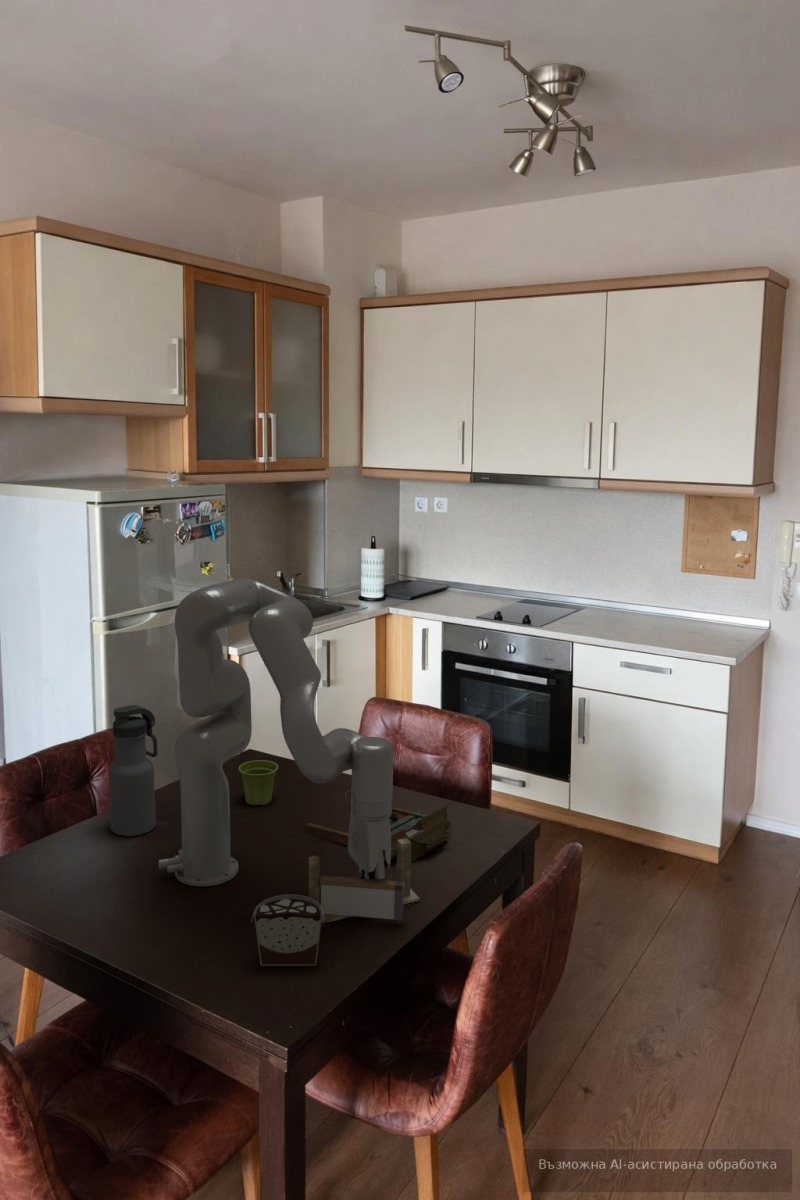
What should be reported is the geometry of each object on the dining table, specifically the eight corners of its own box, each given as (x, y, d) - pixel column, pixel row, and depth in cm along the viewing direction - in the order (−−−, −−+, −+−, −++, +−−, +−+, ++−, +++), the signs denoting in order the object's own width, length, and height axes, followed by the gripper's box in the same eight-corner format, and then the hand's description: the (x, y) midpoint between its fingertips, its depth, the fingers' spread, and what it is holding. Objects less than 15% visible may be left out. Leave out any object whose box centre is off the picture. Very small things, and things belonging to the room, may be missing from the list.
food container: (326, 945, 161) (327, 892, 160) (325, 965, 155) (325, 911, 153) (256, 945, 161) (255, 892, 159) (251, 965, 155) (250, 911, 153)
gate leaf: (319, 913, 169) (319, 879, 168) (321, 909, 171) (321, 875, 170) (402, 920, 167) (403, 886, 166) (403, 916, 169) (404, 881, 168)
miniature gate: (369, 787, 224) (473, 810, 206) (370, 808, 225) (474, 834, 207) (292, 823, 203) (400, 852, 185) (293, 847, 204) (401, 879, 186)
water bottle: (143, 815, 213) (139, 698, 208) (165, 828, 207) (162, 708, 202) (102, 827, 206) (97, 707, 201) (124, 842, 200) (119, 718, 194)
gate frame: (297, 928, 166) (297, 868, 164) (289, 915, 171) (289, 856, 169) (419, 901, 177) (420, 844, 175) (408, 890, 181) (409, 833, 179)
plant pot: (286, 799, 224) (286, 765, 223) (260, 812, 216) (260, 777, 215) (256, 790, 229) (256, 757, 227) (230, 803, 221) (230, 768, 220)
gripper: (337, 792, 174) (335, 882, 177) (369, 824, 161) (366, 920, 164) (373, 787, 177) (371, 875, 181) (407, 817, 164) (404, 912, 167)
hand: (369, 896), depth 172 cm, fingers closed
